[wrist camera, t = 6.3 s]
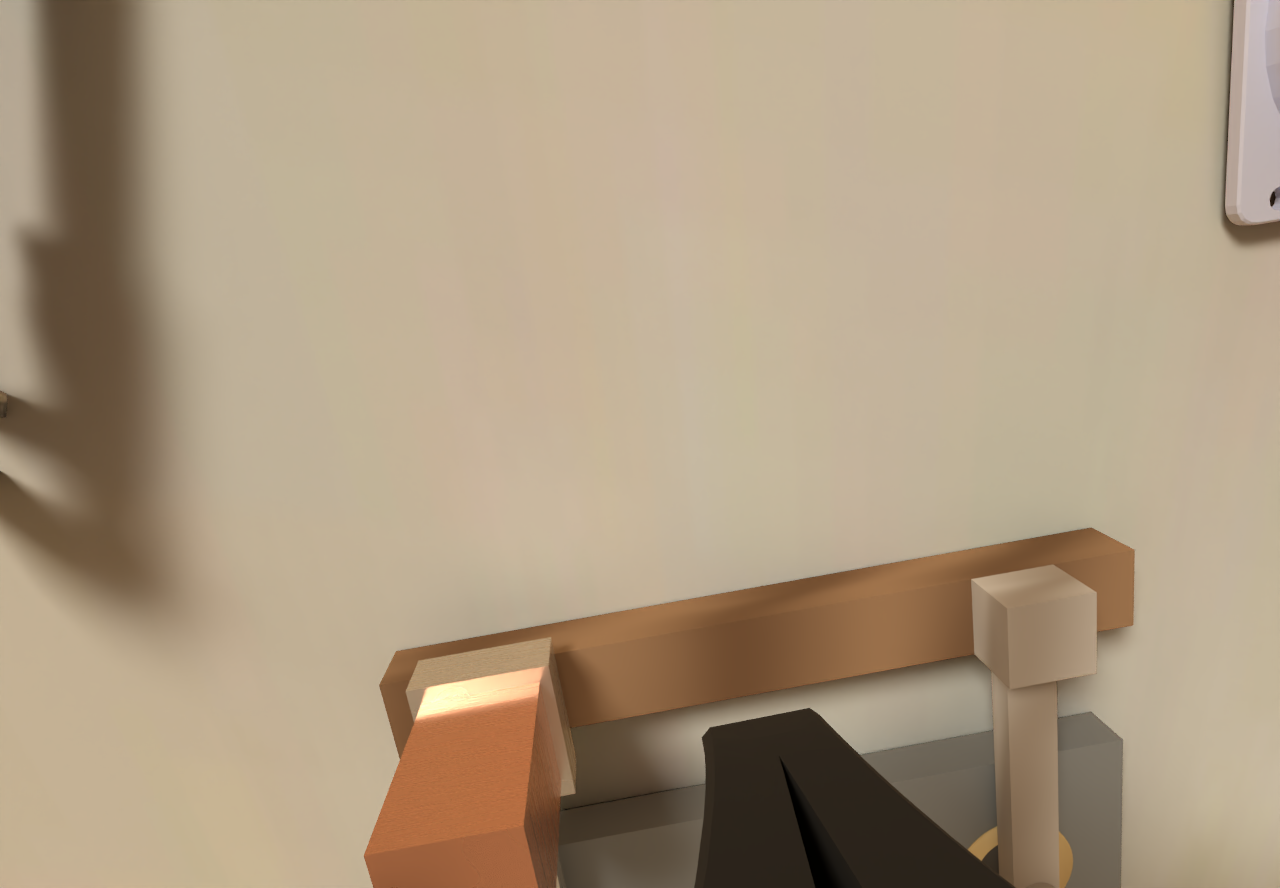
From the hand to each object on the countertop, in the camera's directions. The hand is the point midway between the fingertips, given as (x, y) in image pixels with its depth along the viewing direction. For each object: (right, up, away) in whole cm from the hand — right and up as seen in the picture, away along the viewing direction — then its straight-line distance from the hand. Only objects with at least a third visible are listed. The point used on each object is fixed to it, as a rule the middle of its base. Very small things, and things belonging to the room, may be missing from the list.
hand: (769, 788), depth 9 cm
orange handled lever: (-4, -5, +9) cm, 11 cm away
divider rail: (+2, -4, +11) cm, 12 cm away
